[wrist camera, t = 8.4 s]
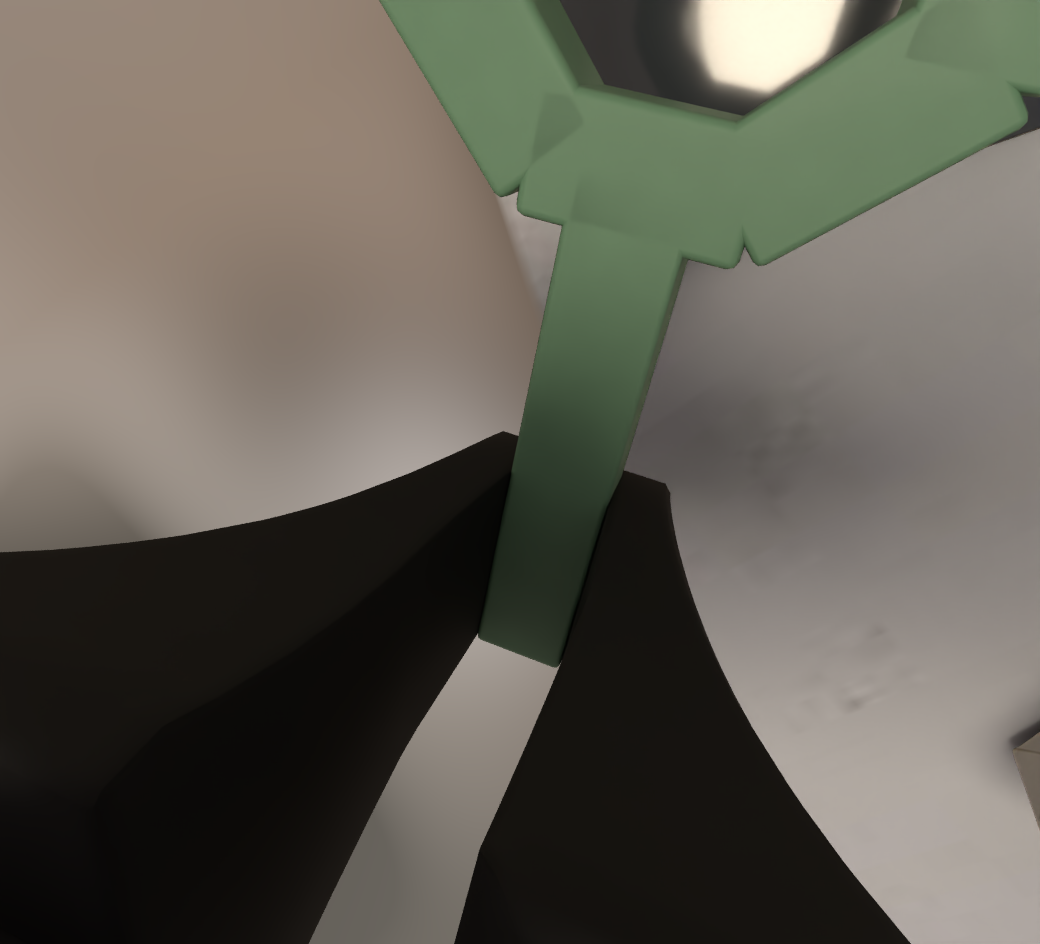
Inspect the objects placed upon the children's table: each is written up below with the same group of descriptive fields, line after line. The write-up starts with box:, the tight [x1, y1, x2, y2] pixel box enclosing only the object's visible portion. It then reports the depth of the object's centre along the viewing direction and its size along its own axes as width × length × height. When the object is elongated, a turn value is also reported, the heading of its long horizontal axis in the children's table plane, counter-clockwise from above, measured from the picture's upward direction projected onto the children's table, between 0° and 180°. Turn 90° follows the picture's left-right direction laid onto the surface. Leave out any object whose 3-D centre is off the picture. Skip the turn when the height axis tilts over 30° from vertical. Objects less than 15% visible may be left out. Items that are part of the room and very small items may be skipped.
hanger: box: [379, 0, 1040, 667], centre depth 7 cm, size 11×6×1 cm, turn 169°
